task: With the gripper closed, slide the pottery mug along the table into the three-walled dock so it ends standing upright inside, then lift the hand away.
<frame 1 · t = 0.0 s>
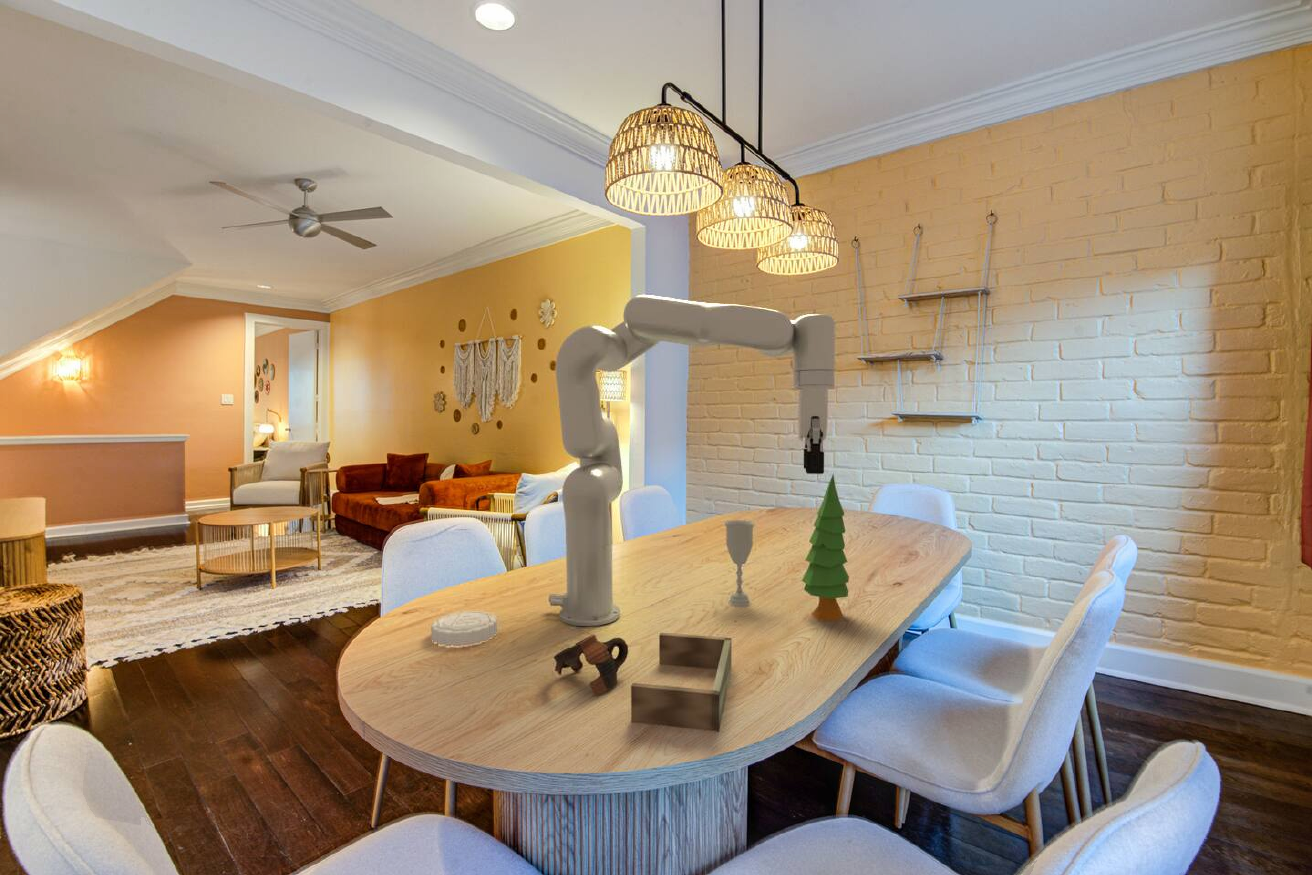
hand: (813, 471, 111), 31 cm above the table, tool pointing down, fingers open, 9 cm apart
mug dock: (676, 691, 89), on the table
decorative tree: (824, 616, 122), on the table
mooncake: (465, 638, 111), on the table
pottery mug: (593, 682, 92), on the table
chalice: (739, 603, 130), on the table
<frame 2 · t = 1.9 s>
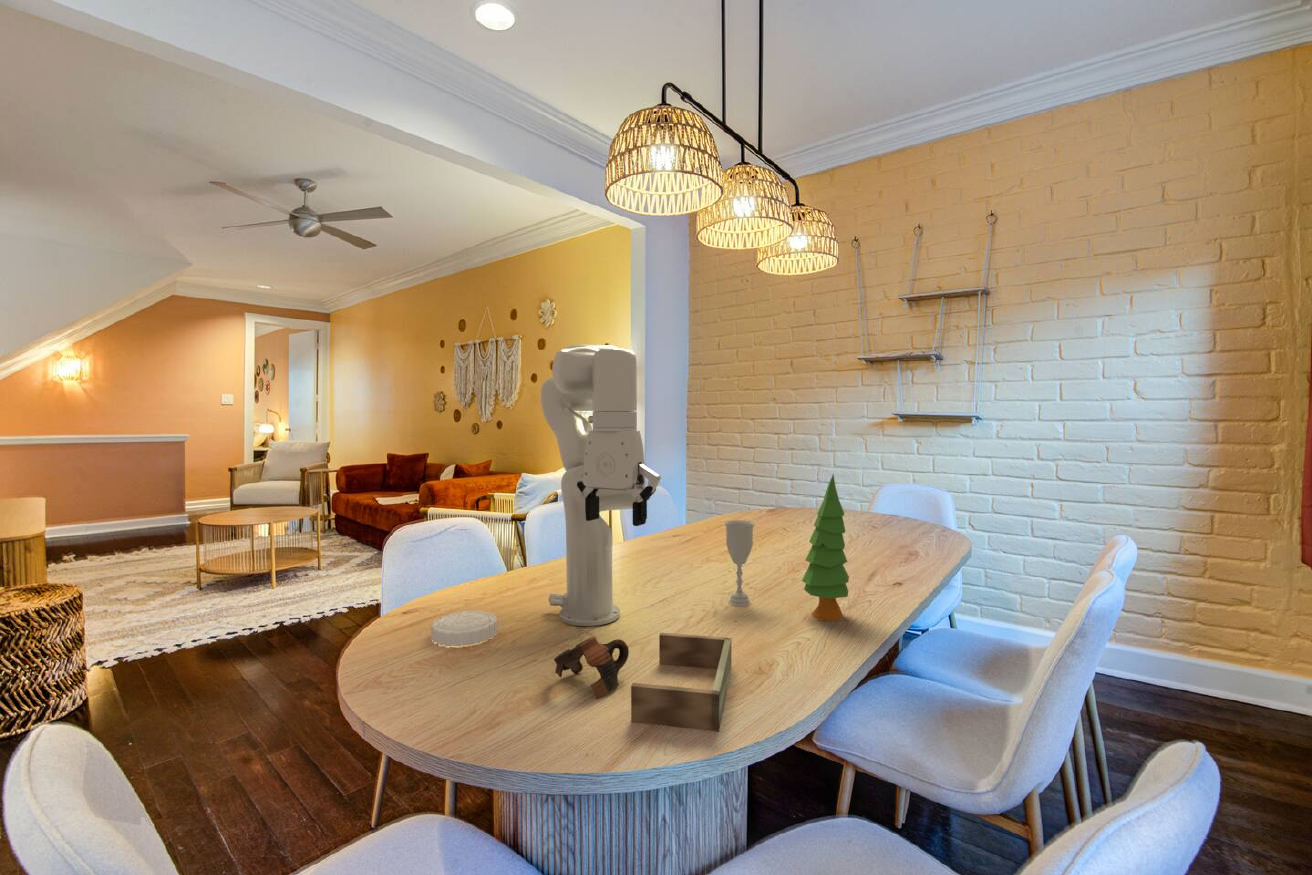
hand: (615, 522, 100), 24 cm above the table, tool pointing down, fingers open, 9 cm apart
nothing on the table moved.
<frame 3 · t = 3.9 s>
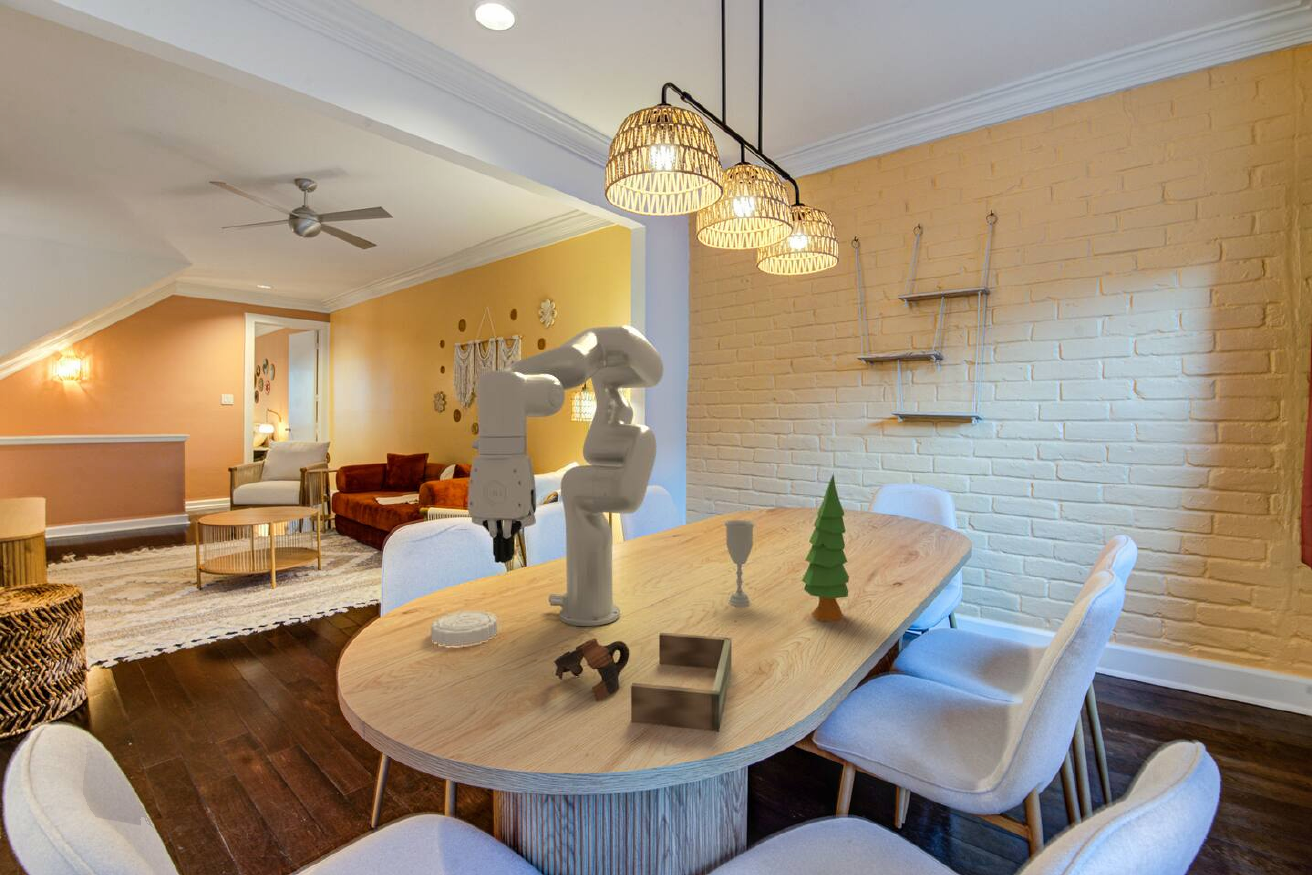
hand: (503, 560, 95), 18 cm above the table, tool pointing down, fingers closed
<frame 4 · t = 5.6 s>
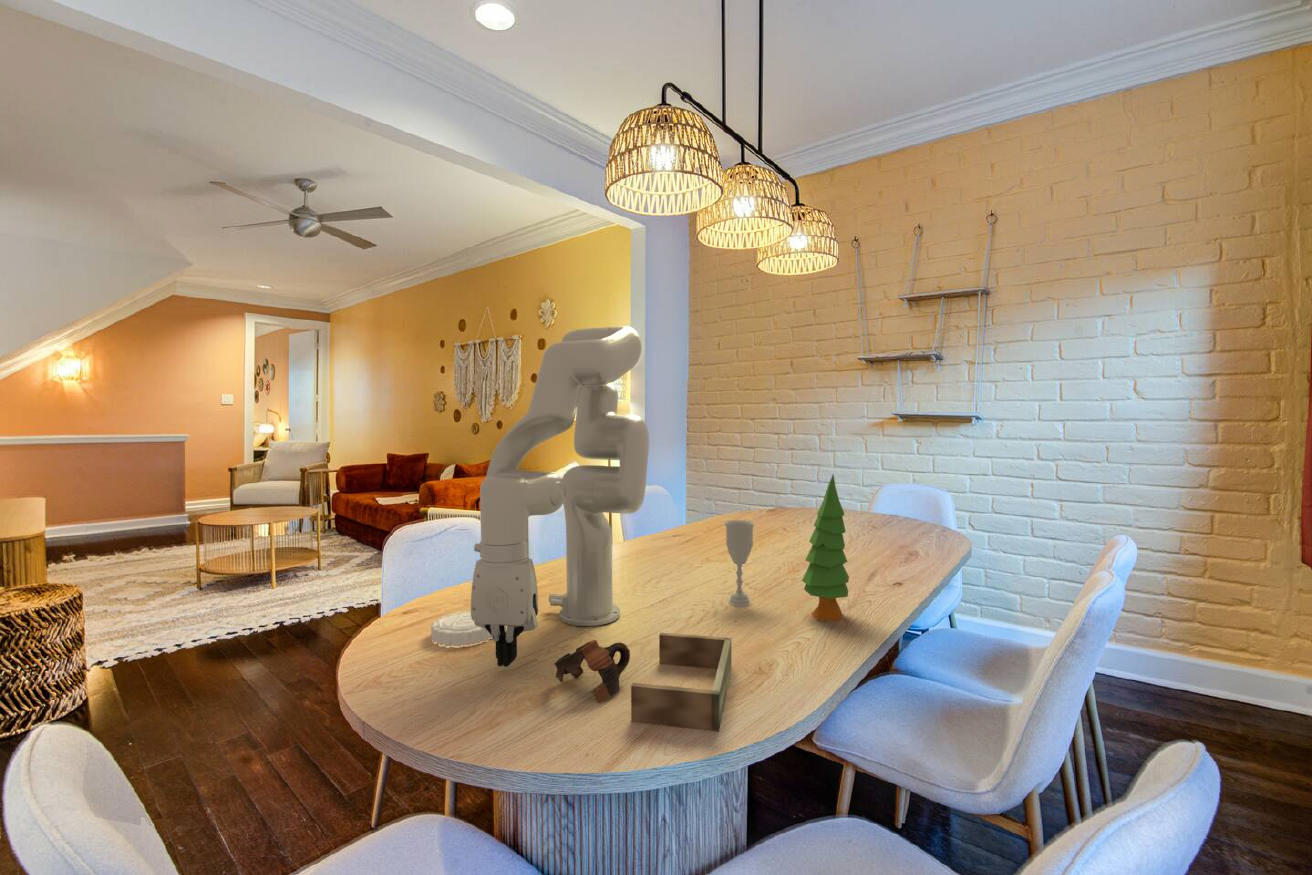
hand: (506, 662, 95), 2 cm above the table, tool pointing down, fingers closed
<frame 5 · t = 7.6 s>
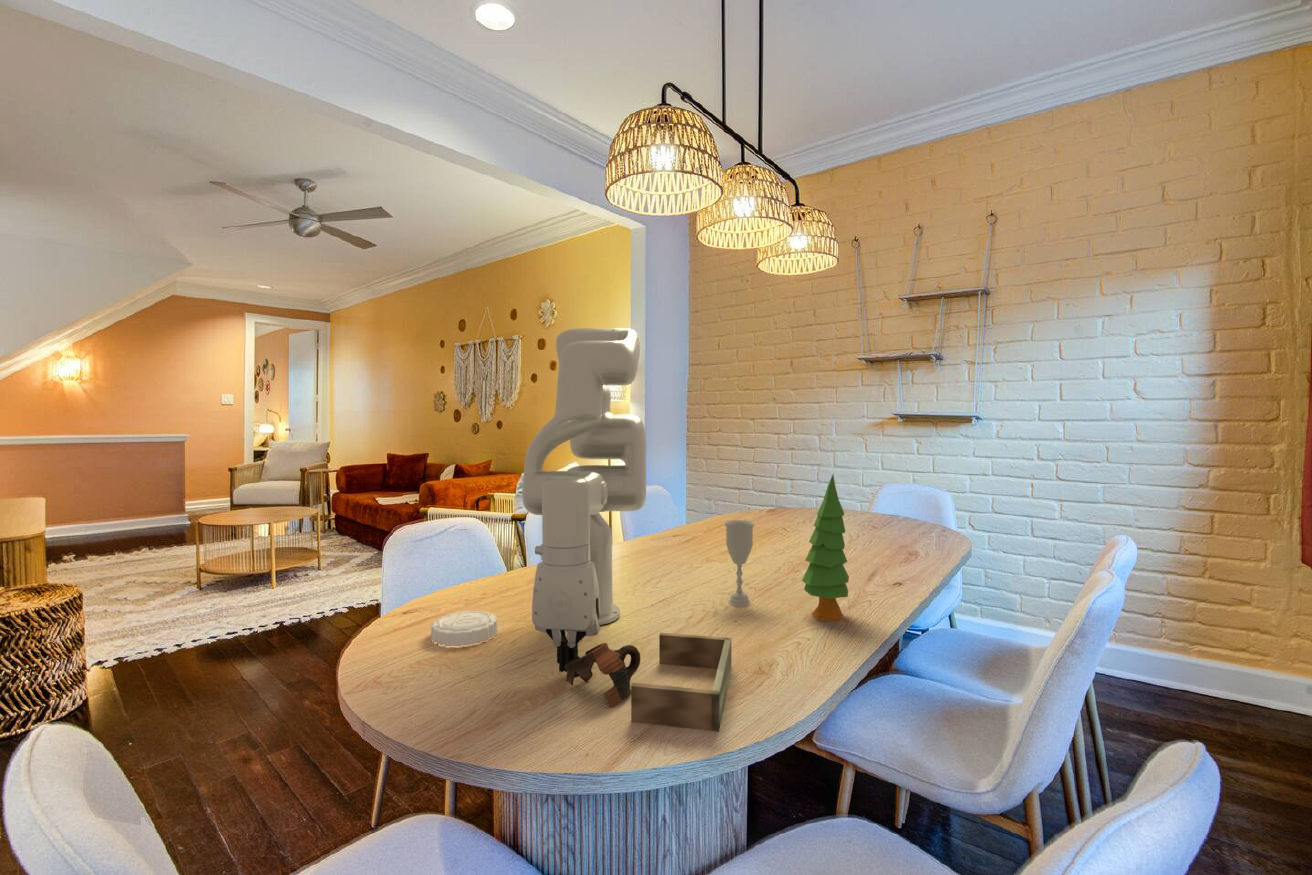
hand: (567, 668, 93), 2 cm above the table, tool pointing down, fingers closed
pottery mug: (605, 692, 89), on the table, touching gripper
everything else where it was.
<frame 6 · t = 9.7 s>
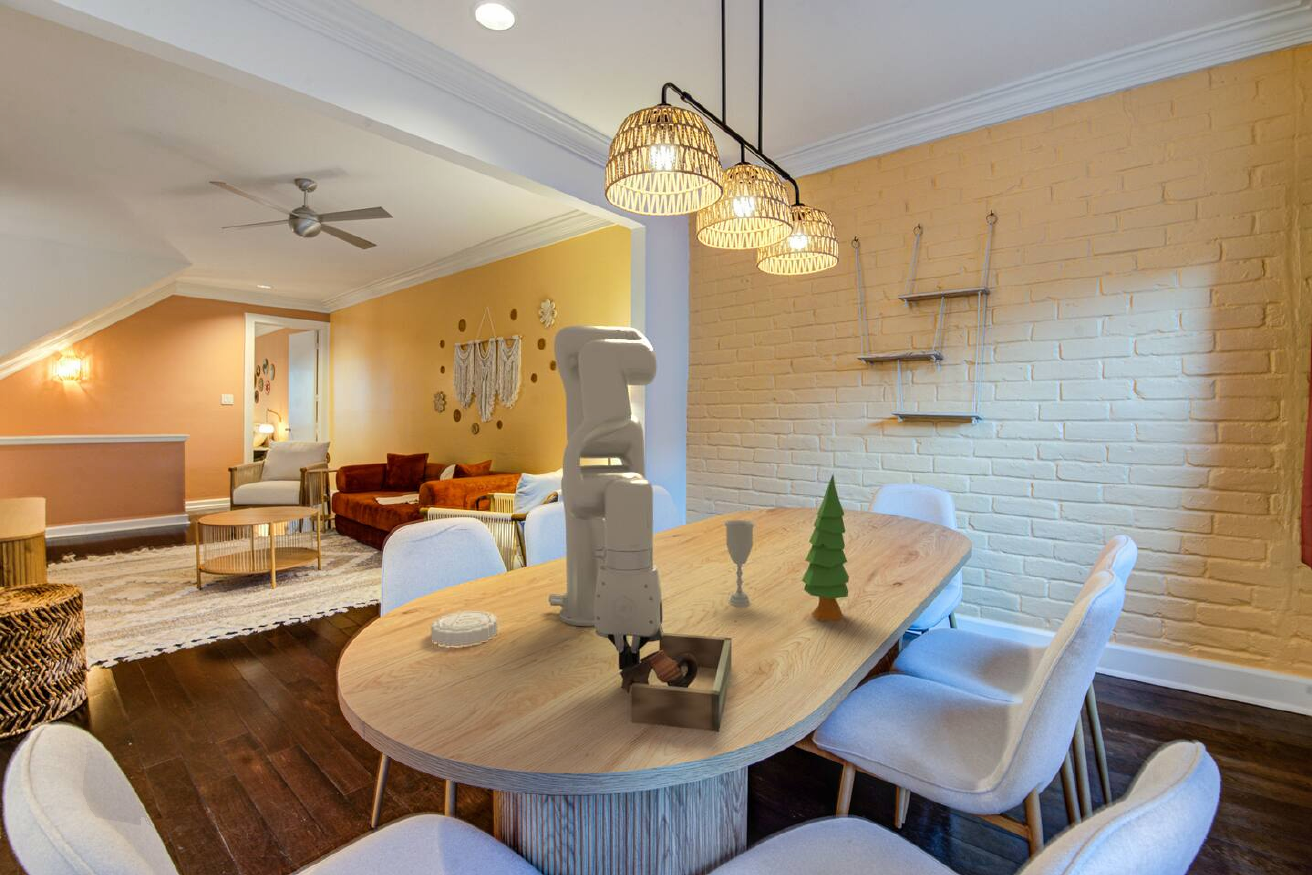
hand: (629, 674, 91), 1 cm above the table, tool pointing down, fingers closed
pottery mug: (661, 702, 85), on the table, touching gripper
everything else where it was.
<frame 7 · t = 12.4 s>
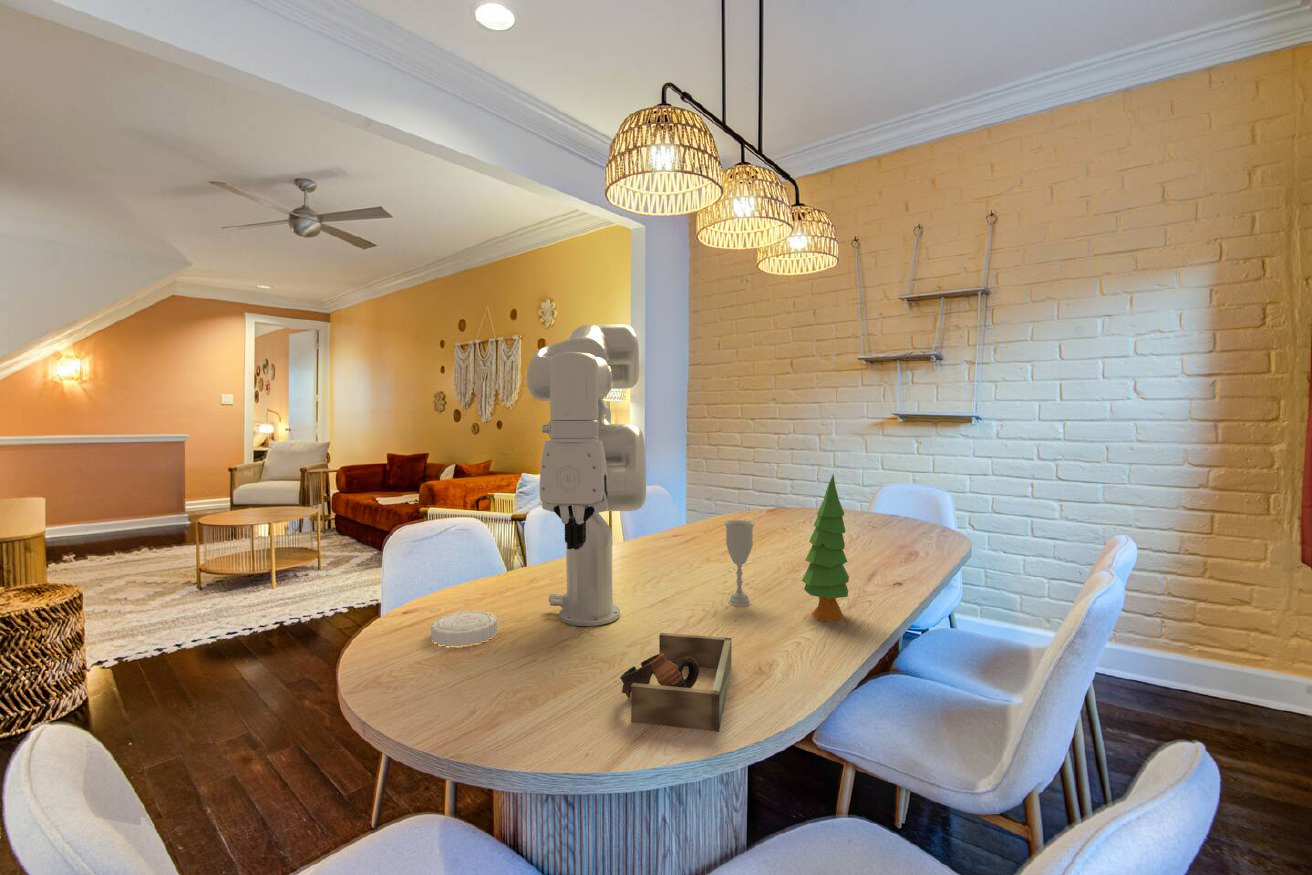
hand: (575, 547, 92), 21 cm above the table, tool pointing down, fingers closed
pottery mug: (663, 705, 85), on the table
everything else where it was.
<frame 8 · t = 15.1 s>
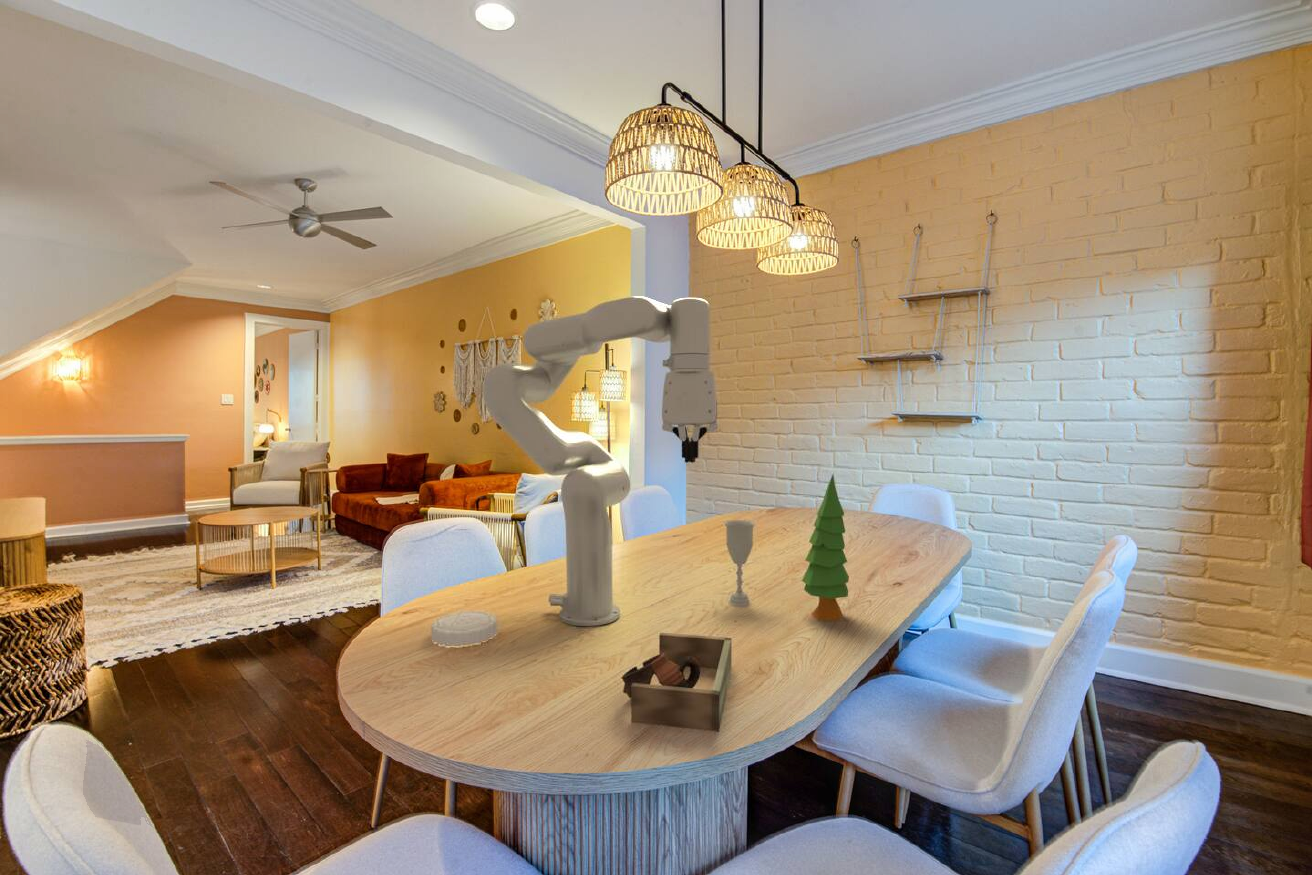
hand: (690, 461, 111), 33 cm above the table, tool pointing down, fingers closed
nothing on the table moved.
at the end: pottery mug inside the target area on the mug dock (4.2 cm from its centre), point 0.0 cm above the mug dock's base; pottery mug tilted 1° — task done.
